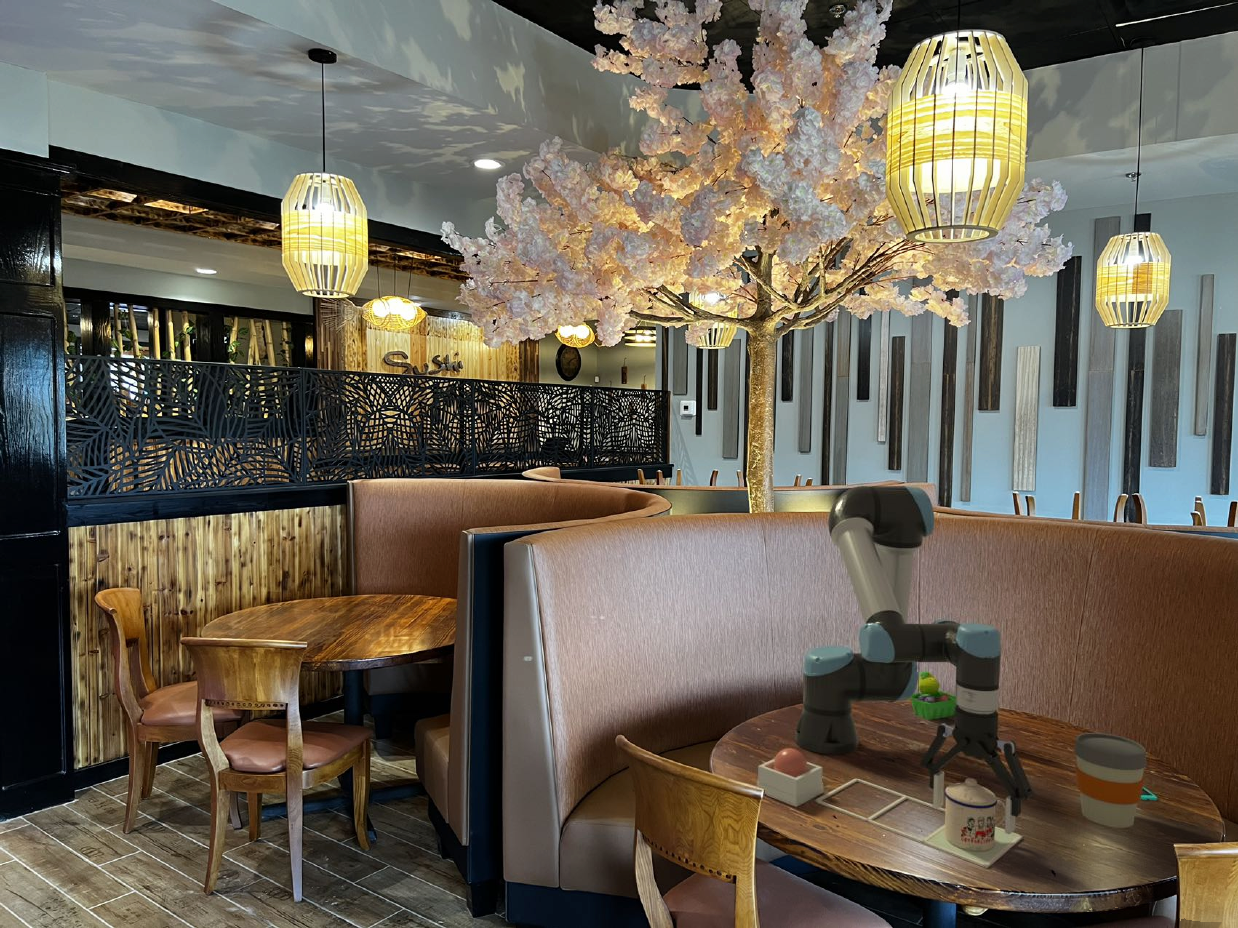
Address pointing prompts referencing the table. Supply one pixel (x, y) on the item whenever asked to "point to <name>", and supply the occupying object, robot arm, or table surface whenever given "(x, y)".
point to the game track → (938, 837)
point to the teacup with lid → (971, 815)
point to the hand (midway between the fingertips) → (973, 818)
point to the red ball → (790, 762)
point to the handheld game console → (1147, 795)
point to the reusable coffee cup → (1109, 777)
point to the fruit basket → (932, 699)
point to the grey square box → (790, 784)
